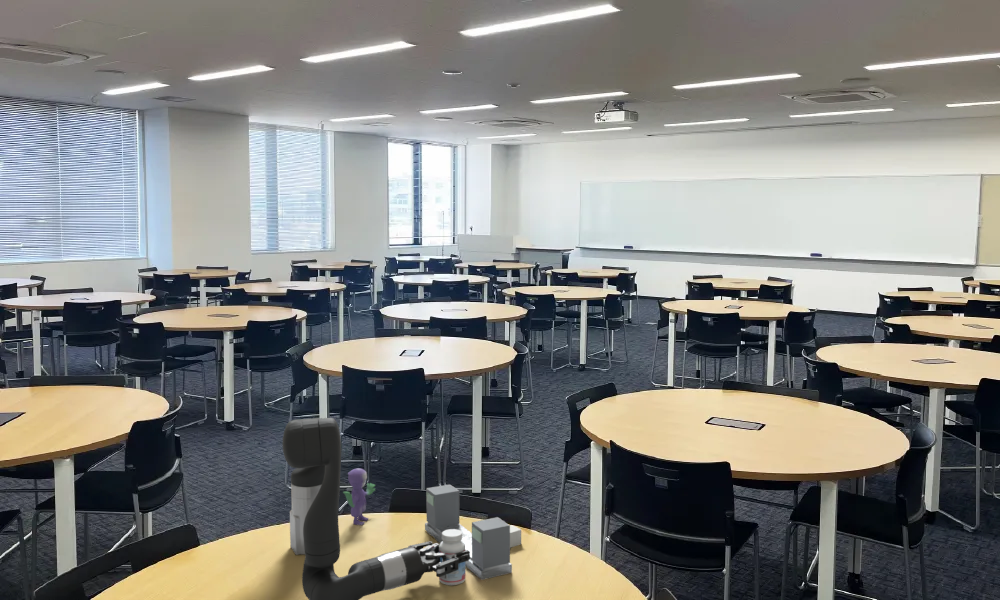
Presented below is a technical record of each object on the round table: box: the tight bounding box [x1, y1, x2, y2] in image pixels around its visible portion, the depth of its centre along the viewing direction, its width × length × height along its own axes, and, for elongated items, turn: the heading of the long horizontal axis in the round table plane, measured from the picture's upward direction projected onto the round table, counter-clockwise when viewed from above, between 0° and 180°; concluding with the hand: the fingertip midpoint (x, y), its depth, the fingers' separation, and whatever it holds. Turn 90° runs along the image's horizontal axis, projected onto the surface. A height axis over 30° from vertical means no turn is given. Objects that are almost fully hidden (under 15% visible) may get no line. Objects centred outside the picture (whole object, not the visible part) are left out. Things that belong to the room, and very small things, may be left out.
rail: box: [424, 522, 513, 580], centre depth 187 cm, size 8×34×2 cm, turn 28°
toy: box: [342, 467, 376, 526], centre depth 206 cm, size 18×6×15 cm, turn 168°
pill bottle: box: [438, 529, 467, 586], centre depth 170 cm, size 6×6×11 cm
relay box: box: [509, 524, 522, 549], centre depth 190 cm, size 6×4×4 cm, turn 129°
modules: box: [425, 484, 511, 569], centre depth 187 cm, size 7×34×9 cm, turn 28°
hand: (460, 550), depth 171 cm, fingers closed on pill bottle, 6 cm apart
